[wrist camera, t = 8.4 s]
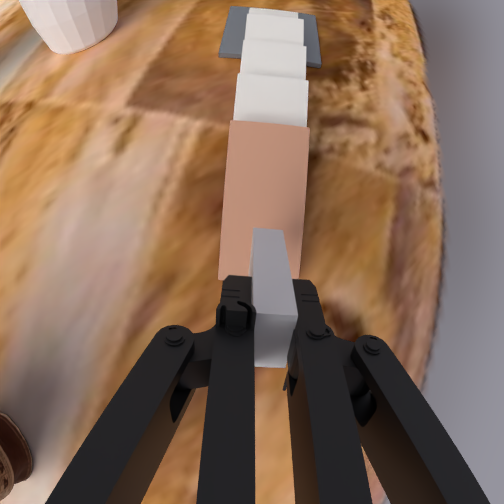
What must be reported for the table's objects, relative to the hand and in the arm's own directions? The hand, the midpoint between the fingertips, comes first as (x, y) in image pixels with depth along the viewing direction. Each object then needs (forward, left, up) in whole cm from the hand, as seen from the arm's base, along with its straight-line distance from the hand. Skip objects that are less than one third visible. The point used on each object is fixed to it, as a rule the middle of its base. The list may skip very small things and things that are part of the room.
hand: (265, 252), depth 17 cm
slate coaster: (-22, +13, -5) cm, 26 cm away
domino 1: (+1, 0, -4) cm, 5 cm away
